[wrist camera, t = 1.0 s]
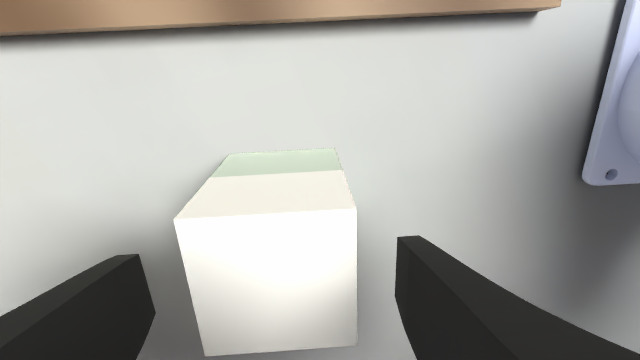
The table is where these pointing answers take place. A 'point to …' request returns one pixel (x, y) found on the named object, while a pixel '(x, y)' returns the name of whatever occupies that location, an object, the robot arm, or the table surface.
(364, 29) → the table surface
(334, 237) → the cream rectangular block
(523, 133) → the table surface
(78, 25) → the brown wooden board
